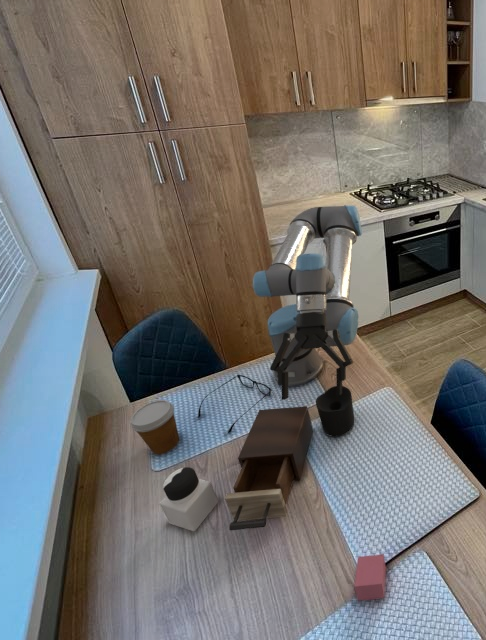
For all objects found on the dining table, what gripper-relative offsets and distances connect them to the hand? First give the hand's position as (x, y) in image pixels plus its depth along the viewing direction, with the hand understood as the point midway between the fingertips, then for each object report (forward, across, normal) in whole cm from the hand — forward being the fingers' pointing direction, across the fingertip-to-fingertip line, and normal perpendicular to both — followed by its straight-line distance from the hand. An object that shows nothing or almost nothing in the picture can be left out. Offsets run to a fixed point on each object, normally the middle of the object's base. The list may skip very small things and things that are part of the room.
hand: (312, 396), depth 102 cm
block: (+33, +16, -19) cm, 42 cm away
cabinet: (+15, -10, +6) cm, 19 cm away
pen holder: (+10, +4, +14) cm, 17 cm away
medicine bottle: (+23, -26, -4) cm, 34 cm away
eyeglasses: (+4, -28, +22) cm, 36 cm away
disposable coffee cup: (+11, -42, +12) cm, 45 cm away
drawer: (+22, -9, -4) cm, 24 cm away
